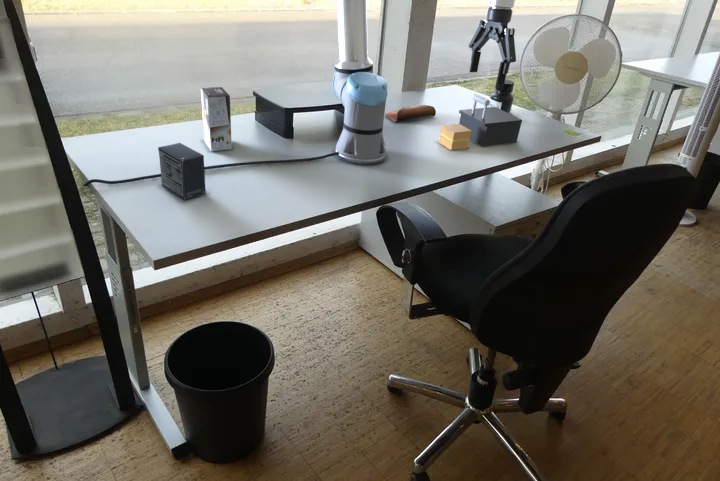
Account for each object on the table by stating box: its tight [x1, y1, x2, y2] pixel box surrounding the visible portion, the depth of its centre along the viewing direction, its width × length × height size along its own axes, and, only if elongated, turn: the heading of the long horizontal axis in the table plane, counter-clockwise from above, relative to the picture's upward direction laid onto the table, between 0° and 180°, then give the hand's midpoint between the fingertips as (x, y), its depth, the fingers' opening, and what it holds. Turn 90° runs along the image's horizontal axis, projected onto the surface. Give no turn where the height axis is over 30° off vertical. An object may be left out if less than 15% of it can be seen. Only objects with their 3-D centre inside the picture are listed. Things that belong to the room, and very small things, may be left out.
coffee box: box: [200, 86, 233, 152], centre depth 160 cm, size 9×6×16 cm
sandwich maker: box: [458, 114, 522, 147], centre depth 189 cm, size 15×14×7 cm
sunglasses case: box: [384, 104, 437, 123], centre depth 201 cm, size 18×7×7 cm
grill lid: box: [458, 93, 523, 127], centre depth 185 cm, size 16×14×8 cm
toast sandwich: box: [438, 123, 471, 151], centre depth 180 cm, size 7×7×6 cm
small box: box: [157, 142, 207, 201], centre depth 134 cm, size 11×6×10 cm, turn 48°
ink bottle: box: [487, 78, 515, 114], centre depth 215 cm, size 10×9×12 cm
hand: (486, 77), depth 178 cm, fingers open, 13 cm apart
